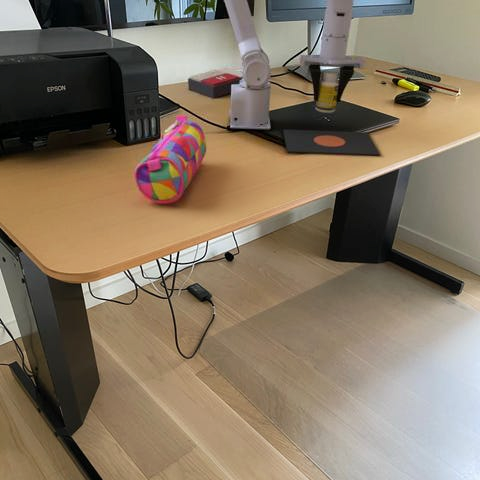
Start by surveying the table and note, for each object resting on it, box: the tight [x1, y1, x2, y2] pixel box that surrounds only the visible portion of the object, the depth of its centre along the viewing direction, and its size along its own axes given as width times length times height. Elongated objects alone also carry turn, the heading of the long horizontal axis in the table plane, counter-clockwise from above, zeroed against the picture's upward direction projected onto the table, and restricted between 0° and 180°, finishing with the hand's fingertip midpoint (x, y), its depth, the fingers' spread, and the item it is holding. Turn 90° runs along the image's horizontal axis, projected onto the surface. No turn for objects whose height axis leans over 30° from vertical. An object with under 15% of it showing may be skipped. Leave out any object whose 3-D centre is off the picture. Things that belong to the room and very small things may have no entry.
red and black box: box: [187, 67, 243, 99], centre depth 145 cm, size 11×4×15 cm
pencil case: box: [133, 114, 207, 205], centre depth 92 cm, size 22×9×9 cm, turn 174°
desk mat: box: [282, 129, 381, 157], centre depth 115 cm, size 20×14×1 cm
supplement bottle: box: [315, 69, 340, 114], centre depth 118 cm, size 5×5×8 cm
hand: (326, 100), depth 119 cm, fingers closed on supplement bottle, 5 cm apart
